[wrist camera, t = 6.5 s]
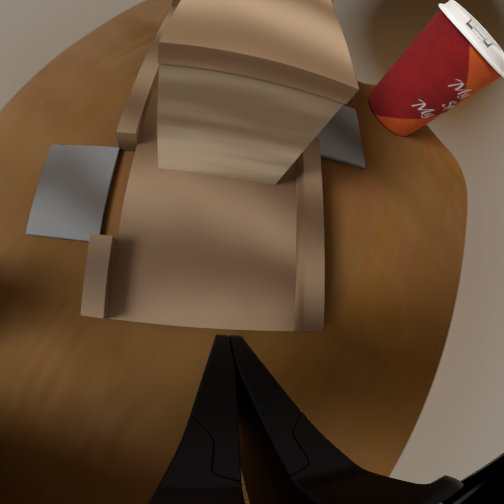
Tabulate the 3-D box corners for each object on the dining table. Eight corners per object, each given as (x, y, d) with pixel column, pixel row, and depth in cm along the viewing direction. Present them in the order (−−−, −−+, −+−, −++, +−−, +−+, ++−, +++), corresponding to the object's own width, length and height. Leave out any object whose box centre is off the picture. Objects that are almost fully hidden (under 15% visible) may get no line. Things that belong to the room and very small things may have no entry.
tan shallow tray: (371, 329, 18) (401, 329, 15) (18, 302, 12) (-8, 298, 10) (341, 56, 24) (355, 38, 21) (123, 15, 18) (123, -8, 16)
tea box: (275, 186, 17) (359, 89, 9) (157, 168, 16) (158, 42, 7) (276, 53, 20) (319, -27, 12) (193, 37, 19) (215, -53, 10)
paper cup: (402, 158, 23) (517, 78, 10) (345, 94, 22) (438, -10, 9) (426, 130, 25) (515, 65, 12) (379, 77, 25) (455, -1, 12)
